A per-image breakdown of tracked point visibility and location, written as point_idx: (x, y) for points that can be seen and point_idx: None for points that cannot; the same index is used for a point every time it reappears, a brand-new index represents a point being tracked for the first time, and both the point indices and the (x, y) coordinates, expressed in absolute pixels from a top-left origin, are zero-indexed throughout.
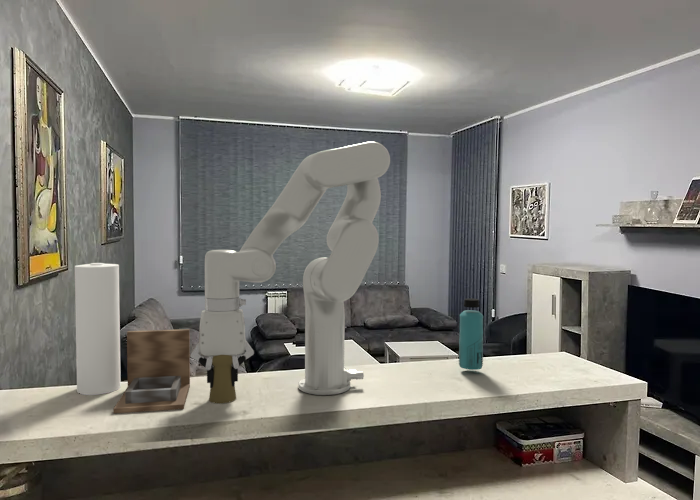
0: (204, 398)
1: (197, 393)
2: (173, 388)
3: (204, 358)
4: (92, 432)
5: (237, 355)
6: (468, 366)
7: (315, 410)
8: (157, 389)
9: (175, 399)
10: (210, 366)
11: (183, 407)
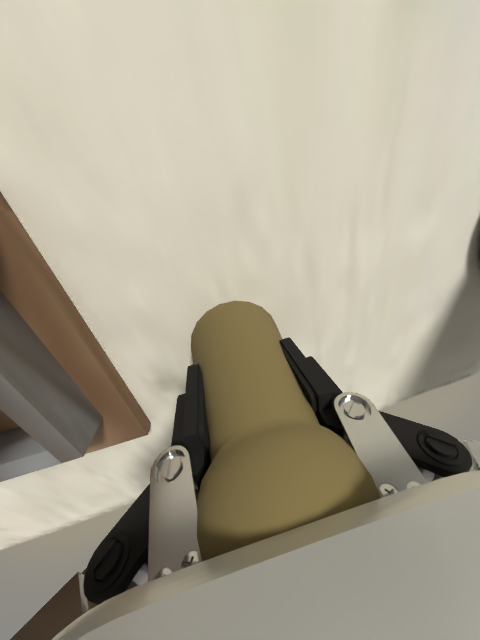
0: (171, 343)
1: (114, 295)
2: (64, 453)
3: (139, 563)
4: (28, 536)
5: (412, 472)
6: None
7: (446, 377)
8: (1, 473)
9: (98, 421)
10: None
11: (149, 426)
